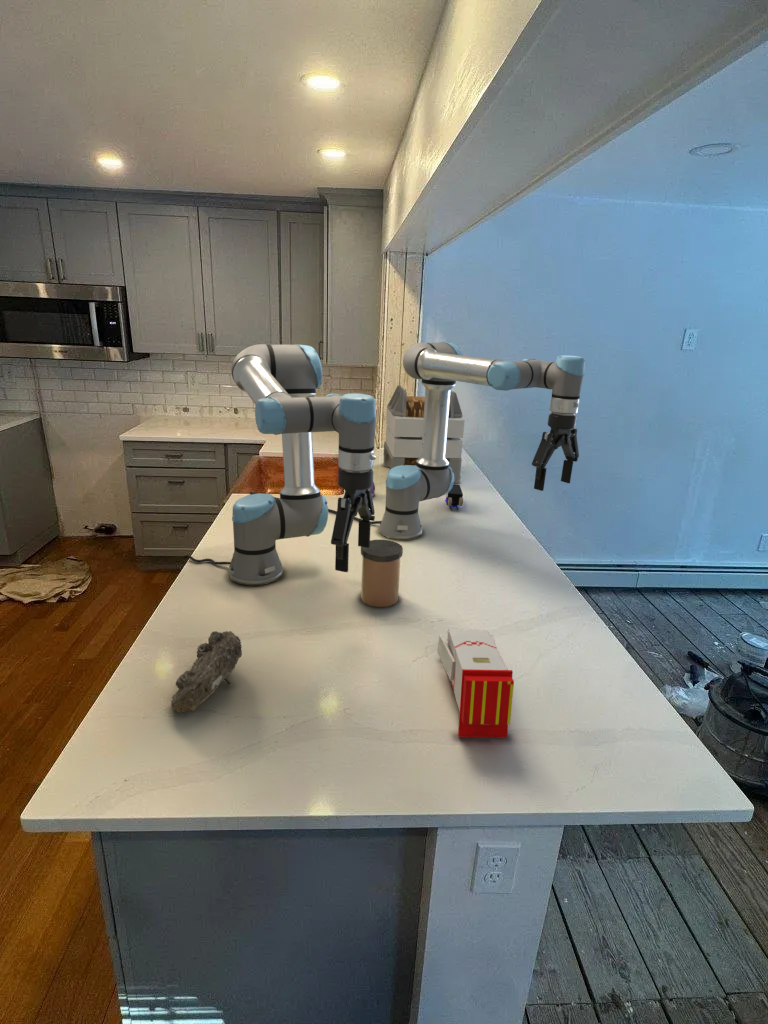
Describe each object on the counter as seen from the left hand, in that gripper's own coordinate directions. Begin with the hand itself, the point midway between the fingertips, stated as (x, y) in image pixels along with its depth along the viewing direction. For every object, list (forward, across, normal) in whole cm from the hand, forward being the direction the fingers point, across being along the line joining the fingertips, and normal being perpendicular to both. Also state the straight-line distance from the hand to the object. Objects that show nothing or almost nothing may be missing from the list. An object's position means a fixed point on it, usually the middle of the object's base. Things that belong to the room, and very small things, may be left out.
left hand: (353, 558), depth 129 cm
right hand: (-6, +57, -40) cm, 70 cm away
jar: (+22, +21, 0) cm, 30 cm away
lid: (+7, +22, 0) cm, 23 cm away
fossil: (+21, -27, +20) cm, 40 cm away
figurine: (+24, +103, +35) cm, 111 cm away
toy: (+20, -10, -31) cm, 38 cm away
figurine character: (+24, +106, -2) cm, 109 cm away
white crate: (+25, +147, +23) cm, 151 cm away
